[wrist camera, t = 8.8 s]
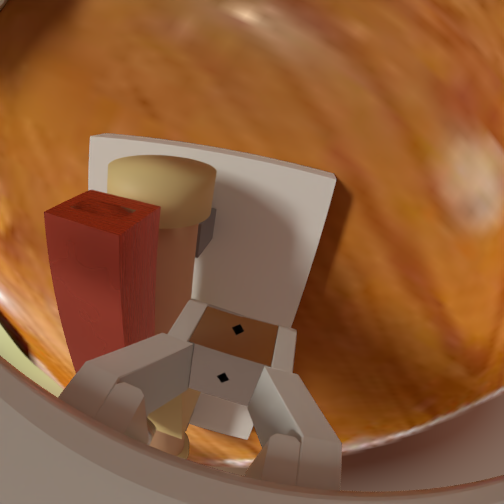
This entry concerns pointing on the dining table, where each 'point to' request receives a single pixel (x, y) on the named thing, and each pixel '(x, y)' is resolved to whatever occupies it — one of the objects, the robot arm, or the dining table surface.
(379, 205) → the dining table surface
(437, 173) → the dining table surface
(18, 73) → the dining table surface
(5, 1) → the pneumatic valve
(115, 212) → the lever
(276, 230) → the board
